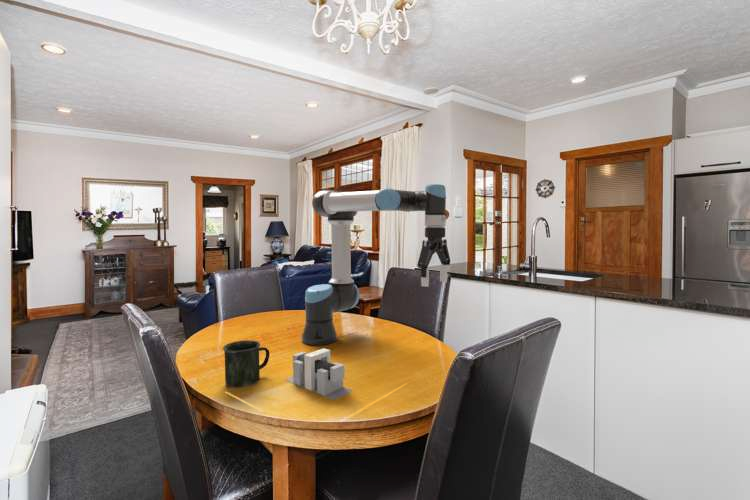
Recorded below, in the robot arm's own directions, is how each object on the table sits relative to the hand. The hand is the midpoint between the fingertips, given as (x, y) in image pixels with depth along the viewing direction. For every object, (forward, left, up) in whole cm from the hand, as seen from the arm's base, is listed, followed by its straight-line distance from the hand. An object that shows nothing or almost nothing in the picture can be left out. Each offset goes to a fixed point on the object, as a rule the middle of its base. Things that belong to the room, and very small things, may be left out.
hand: (434, 283), depth 145 cm
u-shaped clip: (-14, -46, -27) cm, 55 cm away
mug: (-35, -57, -28) cm, 73 cm away
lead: (-14, -46, -23) cm, 53 cm away
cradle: (-14, -46, -28) cm, 56 cm away
